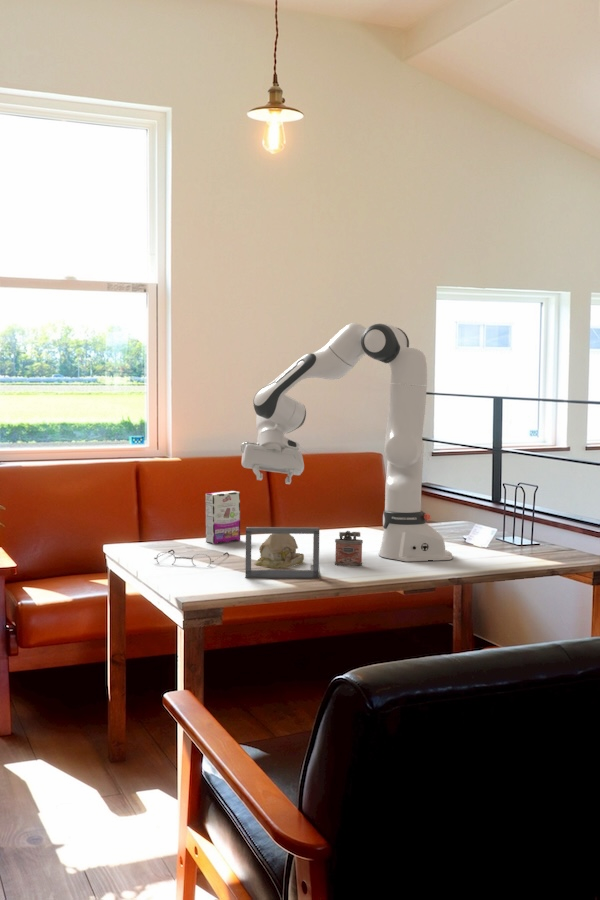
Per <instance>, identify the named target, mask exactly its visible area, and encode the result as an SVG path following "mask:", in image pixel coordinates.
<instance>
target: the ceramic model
mask: <svg viewBox="0 0 600 900" xmlns="http://www.w3.org/2000/svg"><path fill="white" fill-rule="evenodd" d="M298 549H299V547H298V544H297V542H296V538H295V537H294V536H293V535H292V534H269V536H268V537H267V539H265V541H264V542H262V543H261V545H260V546H259V550H258V551H259V553H260V557H259V558H258V559H257V560H256V561H255V562H254V565H255V566H260V567H261V566H262V567H264V566H265V567H266V568H269V567H270V568H271V569H274V568H275V569H281V568H282V567H284V568H288V567H289V566H290V567H295V566H298V565H302V564H303V563H304V559H305V554H304V553H300V552H297V550H298ZM294 565H295V566H294ZM279 567H281V568H279ZM270 568H269V569H270ZM282 569H283V568H282Z"/></svg>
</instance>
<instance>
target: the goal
mask: <svg viewBox="0 0 600 900" xmlns="http://www.w3.org/2000/svg"><path fill="white" fill-rule="evenodd" d="M253 534H258V535H260V534H269V535H271V534H290V535H292V534H293V535H294V534H295V535H303V534H306V535H310V534H311V535H312V534H313V535H312V538H313V540H312V541H313V545H312V547H313V548H312V552H313V553H312V555H313V556H312V564H310V569H252V535H253ZM319 571H320V527H308V526H306V527H304V526H303V527H302V526H301V527H300V526H298V527H293V526H292V527H291V526H288V527H286V526H285V527H284V526H279V527H278V526H274V527H273V526H272V527H271V526H263V527H262V526H246V527H245V577H244V578H245V579H319V577H320V575H319V574H320V572H319Z"/></svg>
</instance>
